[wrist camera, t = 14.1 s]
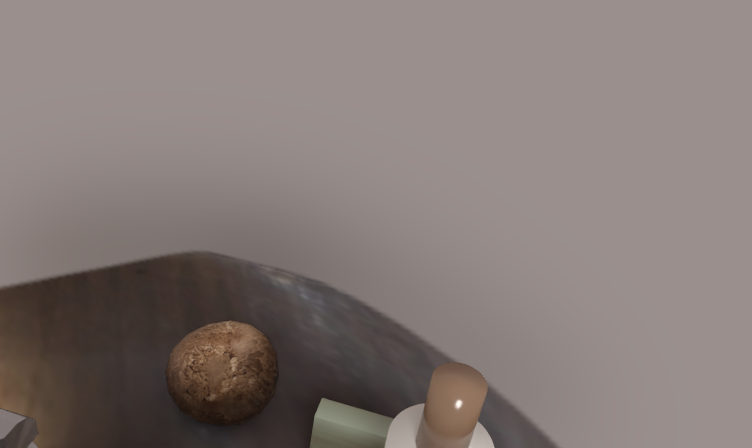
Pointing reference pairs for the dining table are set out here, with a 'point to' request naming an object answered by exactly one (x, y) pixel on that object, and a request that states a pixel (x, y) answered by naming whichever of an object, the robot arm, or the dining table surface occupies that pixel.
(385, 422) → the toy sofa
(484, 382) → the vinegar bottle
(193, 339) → the mushroom
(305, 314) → the dining table surface
